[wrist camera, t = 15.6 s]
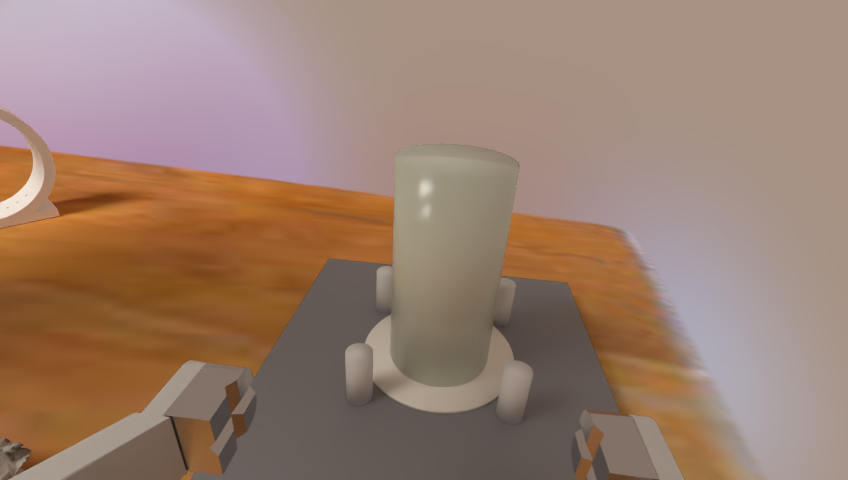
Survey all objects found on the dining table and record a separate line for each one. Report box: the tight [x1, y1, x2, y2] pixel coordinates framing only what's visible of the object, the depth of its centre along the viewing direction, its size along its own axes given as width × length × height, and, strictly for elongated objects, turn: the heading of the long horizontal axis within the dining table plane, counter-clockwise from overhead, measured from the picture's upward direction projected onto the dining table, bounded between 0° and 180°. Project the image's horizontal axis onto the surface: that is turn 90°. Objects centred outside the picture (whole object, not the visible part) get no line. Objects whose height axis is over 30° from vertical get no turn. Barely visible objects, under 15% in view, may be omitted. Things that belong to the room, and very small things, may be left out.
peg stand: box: [191, 259, 620, 480], centre depth 25 cm, size 20×20×4 cm
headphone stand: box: [0, 106, 60, 228], centre depth 40 cm, size 5×6×12 cm
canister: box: [390, 144, 520, 387], centre depth 23 cm, size 6×6×12 cm
